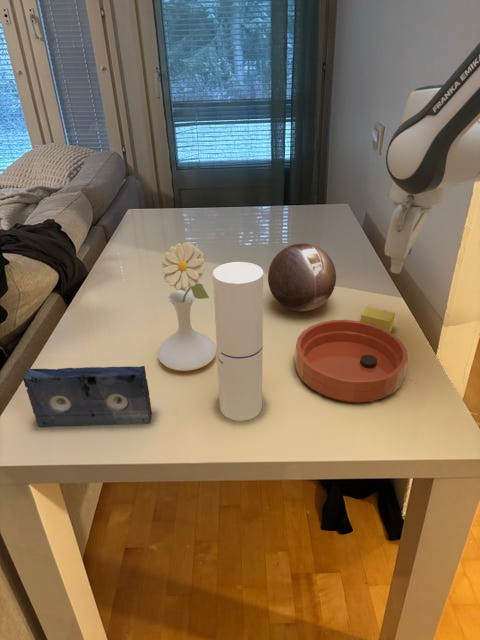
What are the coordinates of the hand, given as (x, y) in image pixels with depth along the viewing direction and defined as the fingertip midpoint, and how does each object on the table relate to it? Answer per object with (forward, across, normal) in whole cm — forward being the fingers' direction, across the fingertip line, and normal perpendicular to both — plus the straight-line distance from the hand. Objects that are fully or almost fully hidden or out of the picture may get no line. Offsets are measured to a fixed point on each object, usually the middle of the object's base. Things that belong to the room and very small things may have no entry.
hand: (401, 261), depth 88 cm
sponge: (+17, +1, +3) cm, 17 cm away
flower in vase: (+18, -26, +32) cm, 44 cm away
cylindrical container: (+17, -33, +17) cm, 41 cm away
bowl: (+17, -15, +4) cm, 23 cm away
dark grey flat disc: (+16, -12, +1) cm, 20 cm away
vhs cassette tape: (+18, -47, +36) cm, 62 cm away
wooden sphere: (+17, +3, +21) cm, 27 cm away
